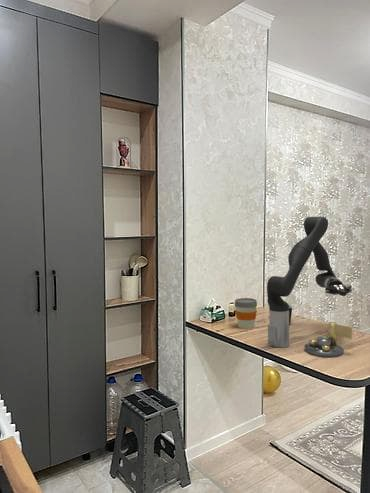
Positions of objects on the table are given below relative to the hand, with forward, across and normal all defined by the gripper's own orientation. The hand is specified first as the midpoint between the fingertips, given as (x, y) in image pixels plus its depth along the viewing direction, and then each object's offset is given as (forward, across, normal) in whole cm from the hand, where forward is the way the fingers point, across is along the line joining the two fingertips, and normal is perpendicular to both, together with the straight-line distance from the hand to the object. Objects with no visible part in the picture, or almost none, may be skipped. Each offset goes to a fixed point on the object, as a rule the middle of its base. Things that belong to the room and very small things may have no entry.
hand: (343, 293), depth 181 cm
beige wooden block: (+6, -5, +23) cm, 24 cm away
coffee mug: (-40, -23, +26) cm, 53 cm away
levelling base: (+6, -12, +24) cm, 28 cm away
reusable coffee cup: (-33, -45, +24) cm, 61 cm away
